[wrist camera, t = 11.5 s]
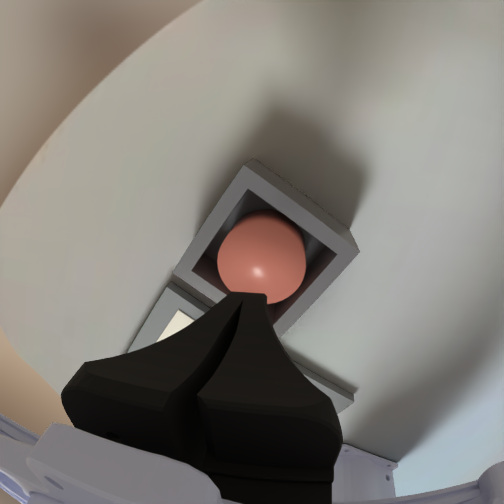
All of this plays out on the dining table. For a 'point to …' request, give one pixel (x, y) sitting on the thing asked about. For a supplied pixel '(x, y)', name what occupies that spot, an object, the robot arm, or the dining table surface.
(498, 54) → the dining table surface
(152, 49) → the dining table surface
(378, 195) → the dining table surface
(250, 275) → the button
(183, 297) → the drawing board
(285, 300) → the button base
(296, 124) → the dining table surface
